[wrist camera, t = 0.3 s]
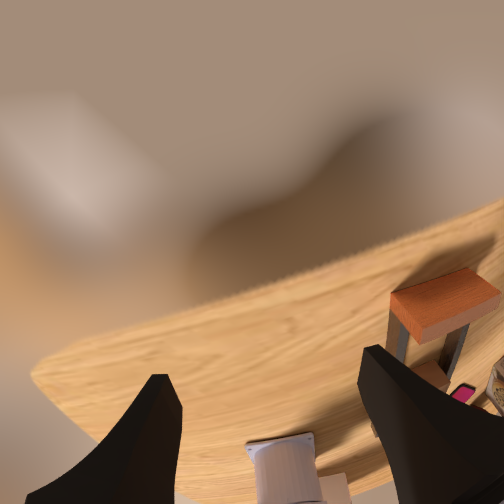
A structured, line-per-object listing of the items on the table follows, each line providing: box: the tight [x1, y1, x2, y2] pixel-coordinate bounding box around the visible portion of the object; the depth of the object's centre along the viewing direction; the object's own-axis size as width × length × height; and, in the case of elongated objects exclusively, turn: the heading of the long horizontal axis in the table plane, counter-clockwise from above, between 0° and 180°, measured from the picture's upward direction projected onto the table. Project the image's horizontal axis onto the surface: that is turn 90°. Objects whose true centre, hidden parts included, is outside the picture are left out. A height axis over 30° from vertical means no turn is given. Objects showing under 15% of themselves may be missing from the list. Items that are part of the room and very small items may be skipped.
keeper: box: [411, 360, 451, 393], centre depth 24 cm, size 6×5×4 cm
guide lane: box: [371, 268, 502, 438], centre depth 22 cm, size 20×9×5 cm, turn 11°
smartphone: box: [449, 384, 475, 403], centre depth 31 cm, size 8×1×15 cm
